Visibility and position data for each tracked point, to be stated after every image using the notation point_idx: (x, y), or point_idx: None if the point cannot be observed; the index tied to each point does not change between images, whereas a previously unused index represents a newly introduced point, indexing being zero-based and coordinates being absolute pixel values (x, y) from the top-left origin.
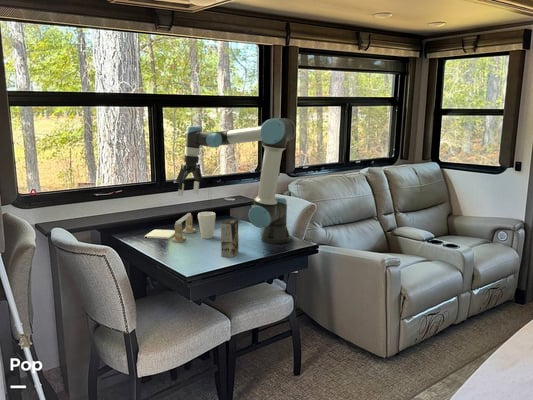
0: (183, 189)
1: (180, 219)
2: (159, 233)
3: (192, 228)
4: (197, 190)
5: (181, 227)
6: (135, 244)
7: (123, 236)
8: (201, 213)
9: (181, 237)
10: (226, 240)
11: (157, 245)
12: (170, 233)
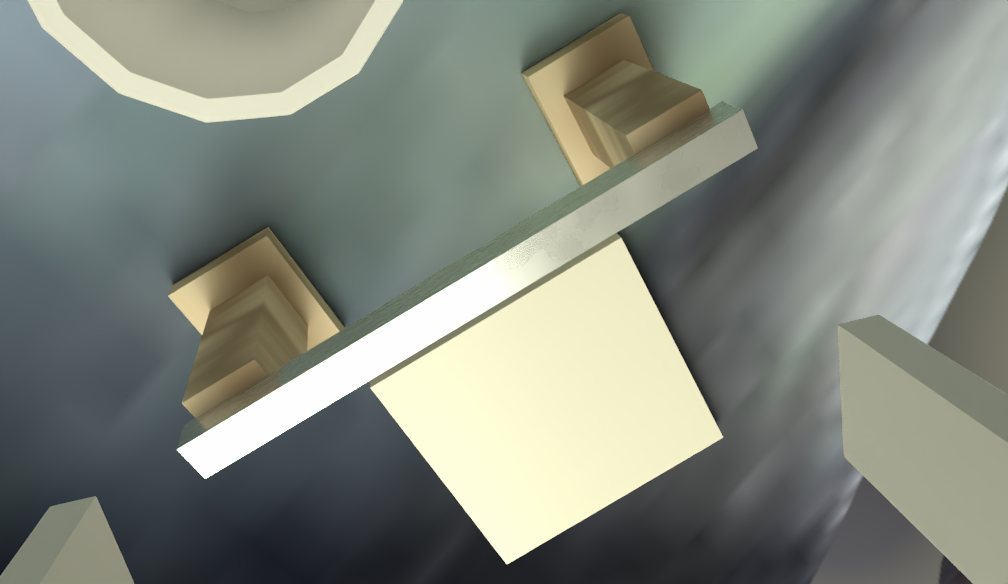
0: (978, 419)
1: (597, 221)
2: (581, 417)
3: (209, 313)
4: (51, 571)
5: (626, 111)
6: (905, 308)
7: (772, 567)
8: (235, 91)
9: (594, 80)
10: None
11: (846, 128)
12: (511, 343)
